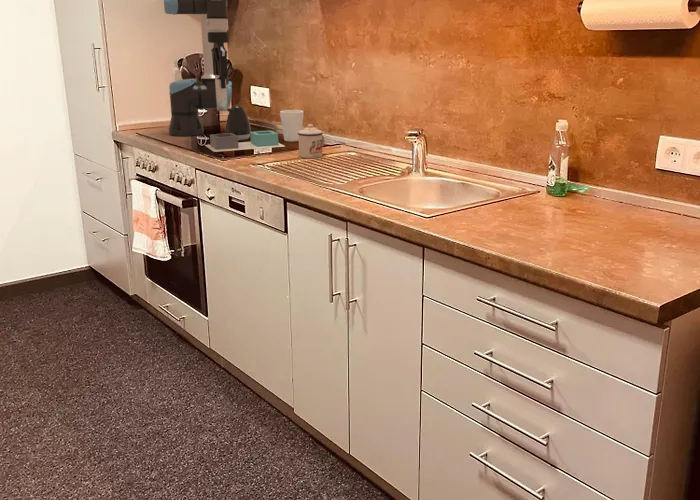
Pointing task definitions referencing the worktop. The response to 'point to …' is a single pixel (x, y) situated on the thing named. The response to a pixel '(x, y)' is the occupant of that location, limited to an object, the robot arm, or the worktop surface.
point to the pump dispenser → (238, 122)
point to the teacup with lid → (310, 142)
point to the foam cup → (291, 124)
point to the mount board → (231, 143)
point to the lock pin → (220, 101)
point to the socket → (264, 138)
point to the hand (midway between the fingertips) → (221, 96)
